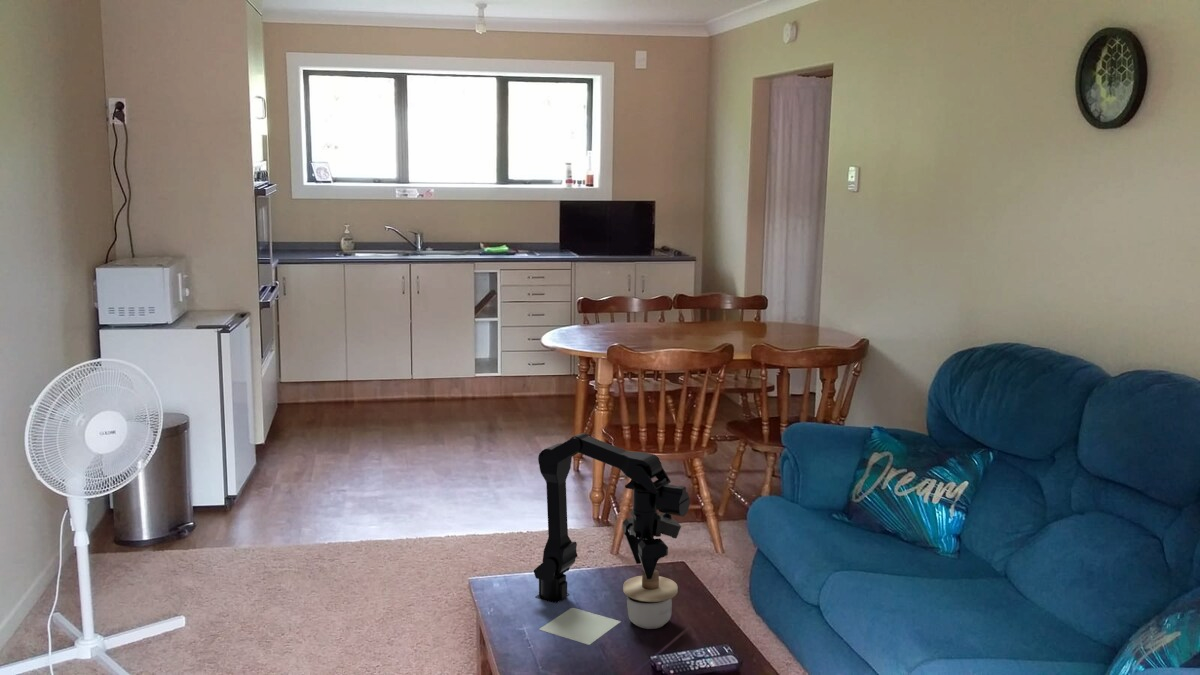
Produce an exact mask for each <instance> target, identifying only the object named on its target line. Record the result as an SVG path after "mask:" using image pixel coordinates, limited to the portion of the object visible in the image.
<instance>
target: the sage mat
mask: <svg viewBox="0 0 1200 675" xmlns="http://www.w3.org/2000/svg"><path fill="white" fill-rule="evenodd" d="M621 622H622V621H621V620H618V619H617V620H616V619H615V618H611V617H607V616H604V615H599V614H596V613H593V612H589V611H587V610H583V609H579V608H576V607H570V608H569V609H568V610H566V611H564V612H563V613H561V614H559V616H557V617H555V618H554V619H552V620H550V622H548V623H546V624H544V625H543V626H542V627H540V628H538V629H539V631H542V632H546V633H549V634H552V635H554V636H558V637H560V638H561V637H562V638H565V639H567V640H571V641H575V642H579V643H581V644H584V645H587V646H591V644H592V643H594V642H595V641H597V640H598V639H599V638H601V637H602V636H604V635H605V634H606V633H608V632H609V631H610V630H612V629H614V628H615V627H616V626H618V624H620V623H621Z"/></svg>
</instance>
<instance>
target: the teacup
mask: <svg viewBox="0 0 1200 675" xmlns="http://www.w3.org/2000/svg"><path fill="white" fill-rule="evenodd" d="M625 597H626V605H627V614H628V618H629V620H630V622H631V623H632V624H634V625H635V626H637V627H638V628H642V629H647V630H653V629H654V630H655V629H659V628H662V627H663V626H664V625H666V624H667V623H668V622H669V621H670V619H671V618H672V606H673V604H672V602H673V601H672V598H671V599H669V600H665V601H659V602H645V601H639V600H635V599H632V598H630V597H628V596H627V595H626V594H625Z"/></svg>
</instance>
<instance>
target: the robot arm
mask: <svg viewBox="0 0 1200 675" xmlns="http://www.w3.org/2000/svg"><path fill="white" fill-rule="evenodd" d="M578 454H581V455H584V456H585V457H588V458H591V459H593V460H595V461H599V462H601V463H604V464H606V465H607V466H611V467H614V468H616V469H618V470H620V471H621V472H622V473H623V474H624V475H625V477H627V478H629V479H630V481H629V482H628V483H627V484H625V485H624V488H625V489H629V490H633V491H632V492H633V493H632V494H633V495H632V496H633V497H632V509H630V515H631V517H629V518H625V519H624V520H623V521H622V526H621V527H622V529H621V530H622V531H623V532H624V533H623V534H624V537H625V540H626V541H627V544H628V546H629V548H630V551H631V554H632V556H633V559H634V561H635V563H636V565H640V564H641V567H642V570H644V573H645V575H646V578H647V579H651V578H652V576H653V573H654V570H656V566H657V564H658V562H659V560H660V559H662V558H664V557H667V556H668V554H669V547H668V545H667V544H666V543H665V542H664V541H663V540H662V538H659V537H661V536H662V535H664V536H668V537H671V538H673V539H677V538H678V535H679V533H680V530H681V528H682V525H681V524H680V523H679V522H678V521H677V520H676V519H674V518H672V516H678V517H681V518H683V517H686V515H687V513H688V511H689V508H690V502H691V498H690V495H689V493H688V491H687V487H686V486H683V485H673V484H670V483H671V480H670V477H669V476H668V474H667V473H666V471H665V469H664V468H663V465H662V462H661V460H660V457H658V456H657V455H656V454H653V453H648V452H644V451H629V450H626V449H623V448H620V447H619V446H615V445H613V444H610V443H608V442H605V441H602V440H600V439H597V438H595V437H592V436H590V435H589V434H587V433H584V432H581V433H578V434H575V435H573V436H572V437H571V438H569V439H568V440H566V441H565V442H563V443H561V442H559V443H555V444H554V445H551V446H549V447H546V448H545V449H543V450H540V453H538V456H537V460H538V461H537V462H538V465H539V473H540V475H541V476H542V477H543V479H544V481H545V483H546V502H547V503H546V506H547V508H546V509H547V531H548V532H547V533H548V538H547V541H546V544H545V546H544V548H543V554H542V563H540V564H539V565H538V566H537V567H536V568H534V570H533V574H534V577H535V579H536V580H538V594H537V595H536V596H535V598H536V599H539V600H543V601H546V602H549V603H553V604H557V603H558V602H560V601H563V600H564V599H566V598H567V597H568V596H570V593H568V581H567V574H565V573H566V572H569V571H570V569H571V567H572V566H573V565H574V563H575V562H576V558H578V557H579V556H578V553H577V546H578V545H577V541H572V540H571V538H570V537H569V531H568V505H567V504H568V502H567V501H568V500H567V478H568V475H569V474H570V470H571V466H572V459H573V458H572V457H575V456H576V455H578ZM655 478H656V480H654V479H655ZM653 480H654V481H653ZM658 511H659V512H658ZM654 537H656V538H654ZM657 537H658V538H657Z"/></svg>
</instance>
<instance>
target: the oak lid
mask: <svg viewBox="0 0 1200 675" xmlns="http://www.w3.org/2000/svg"><path fill="white" fill-rule="evenodd" d="M642 570H643V569H642ZM678 588H679V587H678V584H677V583H676V581H674V580H672V579H670V578H667V577H665V576H660V572H659V570H657V569H655V570H654V573H653V576H652V578H651V579H647V578H646V575H645V573H644V570H643V571H641V575H637V576H634V577H630V578H628V579H625V581H624V583H623V585H622V591H623V593H624V594H625V596H626V595H627V596H628V597H630V598H632V599H635V600H639V601H645V602H659V601H665V600H669V599H671V598H675V596H677V595H678V591H679V589H678Z"/></svg>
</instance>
